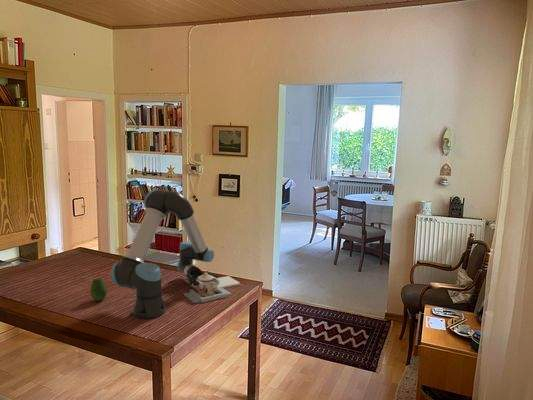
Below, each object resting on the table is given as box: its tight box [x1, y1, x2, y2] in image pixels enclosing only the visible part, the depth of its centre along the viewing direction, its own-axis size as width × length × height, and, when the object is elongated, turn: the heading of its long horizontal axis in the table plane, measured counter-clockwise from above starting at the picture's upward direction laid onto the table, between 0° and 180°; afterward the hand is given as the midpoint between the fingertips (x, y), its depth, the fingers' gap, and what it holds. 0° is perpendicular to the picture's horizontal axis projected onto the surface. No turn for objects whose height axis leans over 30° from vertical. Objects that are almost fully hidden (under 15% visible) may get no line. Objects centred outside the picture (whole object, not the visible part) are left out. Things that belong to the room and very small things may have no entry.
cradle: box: [183, 285, 232, 304], centre depth 218 cm, size 22×15×2 cm
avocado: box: [90, 277, 108, 302], centre depth 208 cm, size 8×8×12 cm
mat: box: [217, 275, 241, 289], centre depth 237 cm, size 14×14×1 cm
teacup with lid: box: [197, 272, 217, 297], centre depth 219 cm, size 12×9×12 cm
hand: (210, 284), depth 215 cm, fingers closed on teacup with lid, 9 cm apart
